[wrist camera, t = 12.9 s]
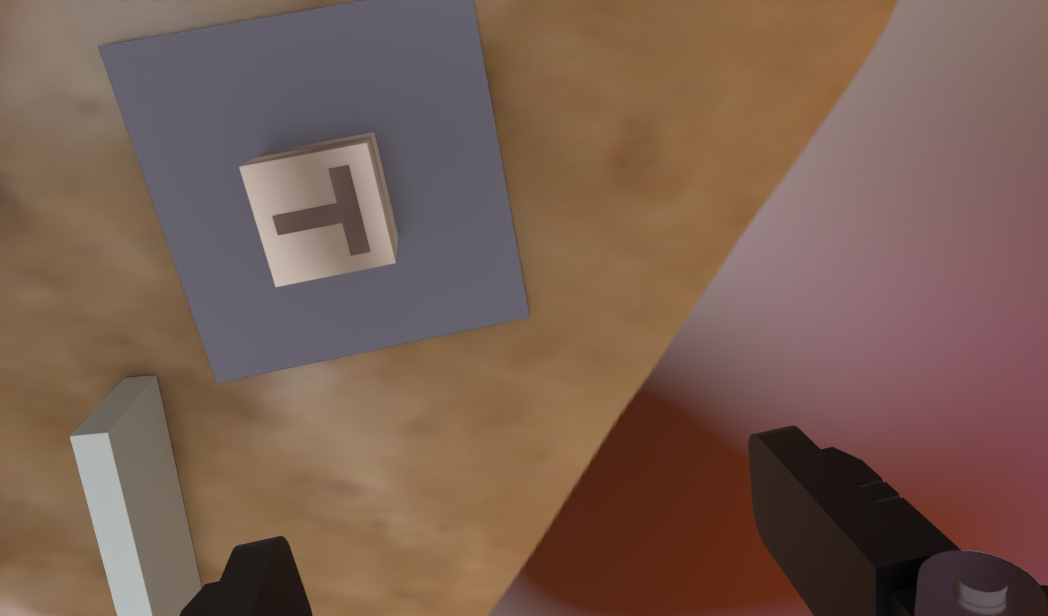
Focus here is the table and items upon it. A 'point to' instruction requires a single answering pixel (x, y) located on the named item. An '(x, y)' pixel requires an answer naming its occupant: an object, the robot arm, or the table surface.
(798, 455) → the robot arm
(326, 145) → the letter cube
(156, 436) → the screen
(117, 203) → the table surface
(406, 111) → the mat
